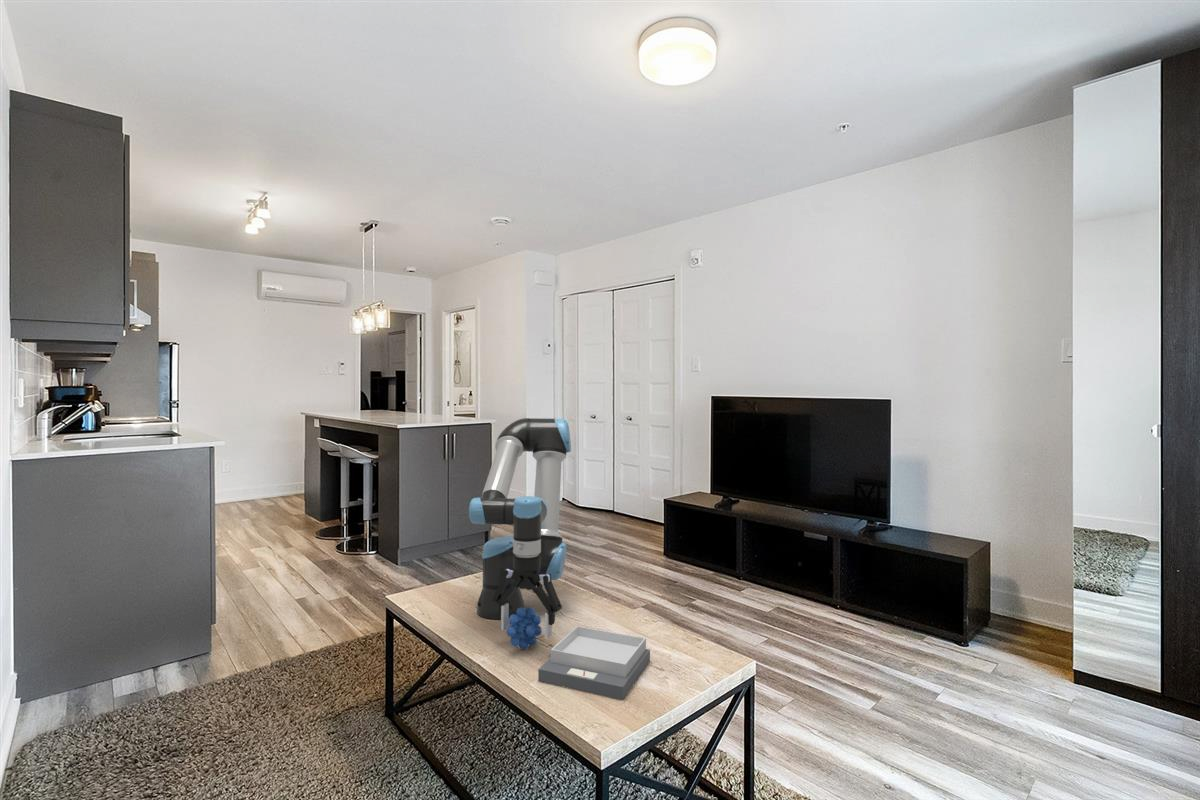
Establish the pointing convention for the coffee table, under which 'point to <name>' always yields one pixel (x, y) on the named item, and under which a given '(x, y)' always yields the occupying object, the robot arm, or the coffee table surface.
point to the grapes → (524, 628)
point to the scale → (596, 662)
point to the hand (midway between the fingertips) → (526, 632)
